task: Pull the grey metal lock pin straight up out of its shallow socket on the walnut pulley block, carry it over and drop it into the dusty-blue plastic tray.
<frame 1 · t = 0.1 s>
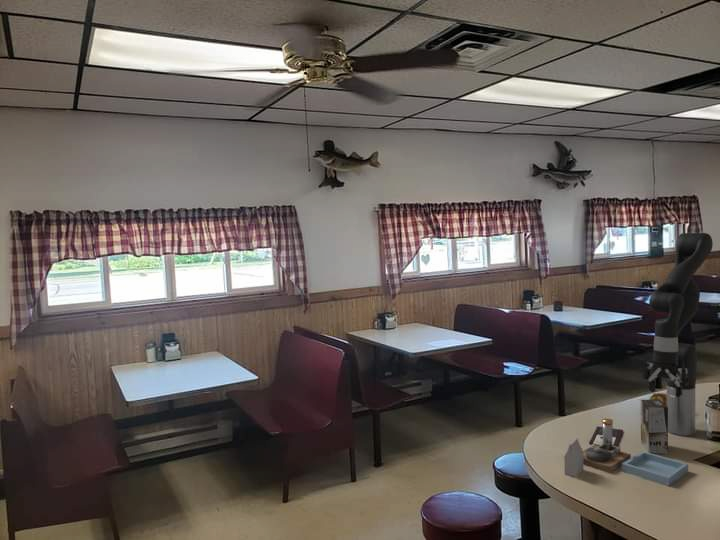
hand: (665, 394, 195), 17 cm above the counter, tool pointing down, fingers open, 8 cm apart
grey house block: (574, 472, 176), on the counter
pastry: (666, 412, 227), on the counter
lock pin: (607, 452, 185), point 2 cm above the counter, touching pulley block
tray: (654, 471, 174), on the counter
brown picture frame: (606, 439, 202), on the counter
coffee box: (654, 448, 191), on the counter
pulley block: (602, 460, 183), on the counter
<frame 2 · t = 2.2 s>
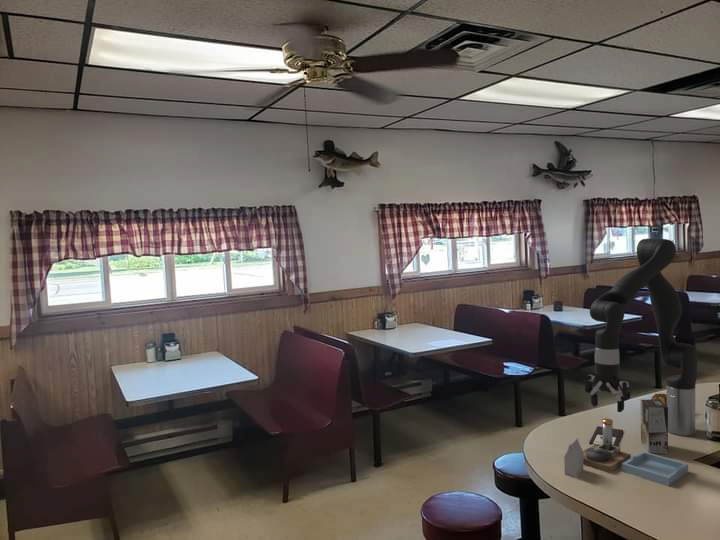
hand: (607, 408, 184), 17 cm above the counter, tool pointing down, fingers open, 8 cm apart
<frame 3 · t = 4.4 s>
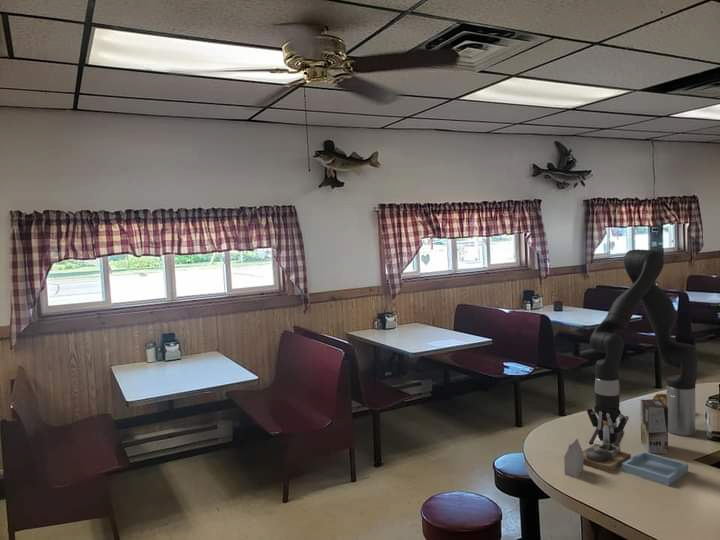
hand: (607, 441, 185), 6 cm above the counter, tool pointing down, fingers closed on lock pin, 3 cm apart
lock pin: (607, 452, 185), point 2 cm above the counter, touching gripper, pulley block
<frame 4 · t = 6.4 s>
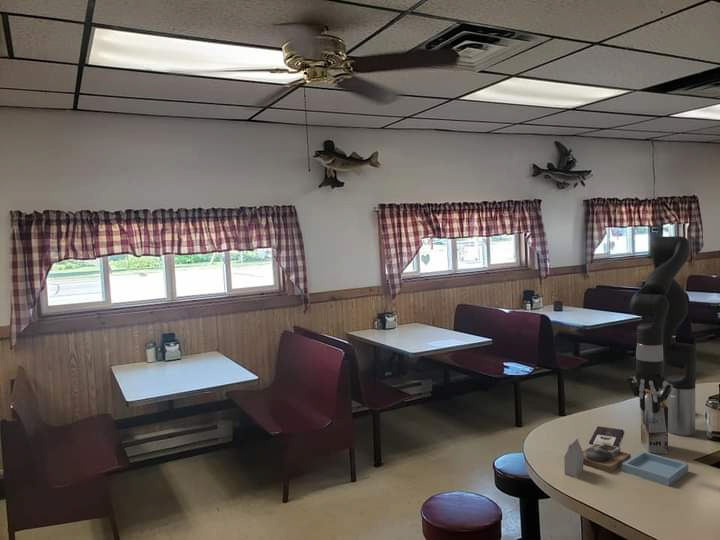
hand: (649, 411, 173), 19 cm above the counter, tool pointing down, fingers closed on lock pin, 3 cm apart
lock pin: (649, 422, 173), point 16 cm above the counter, touching gripper
when the fingers open (6 cm above the counter, at t = 8.7 s): lock pin drops 2 cm, resting on tray.
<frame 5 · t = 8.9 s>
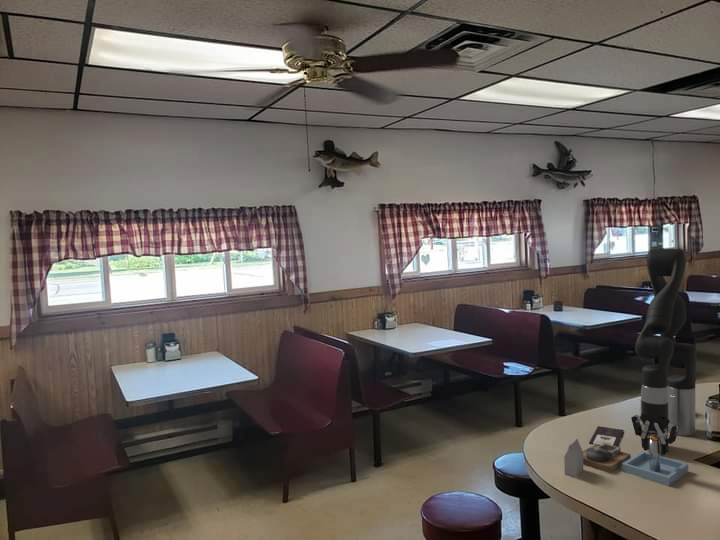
hand: (654, 452, 173), 6 cm above the counter, tool pointing down, fingers open, 4 cm apart
lock pin: (655, 469, 174), point 1 cm above the counter, touching tray
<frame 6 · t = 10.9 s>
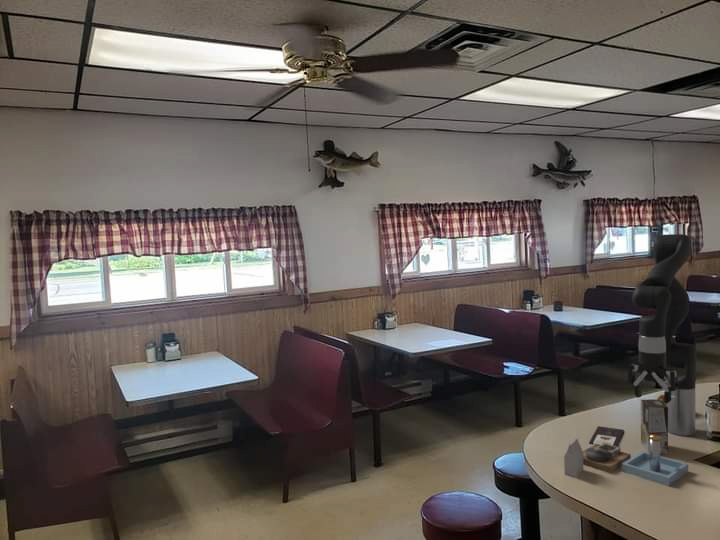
hand: (652, 399, 174), 23 cm above the counter, tool pointing down, fingers open, 8 cm apart
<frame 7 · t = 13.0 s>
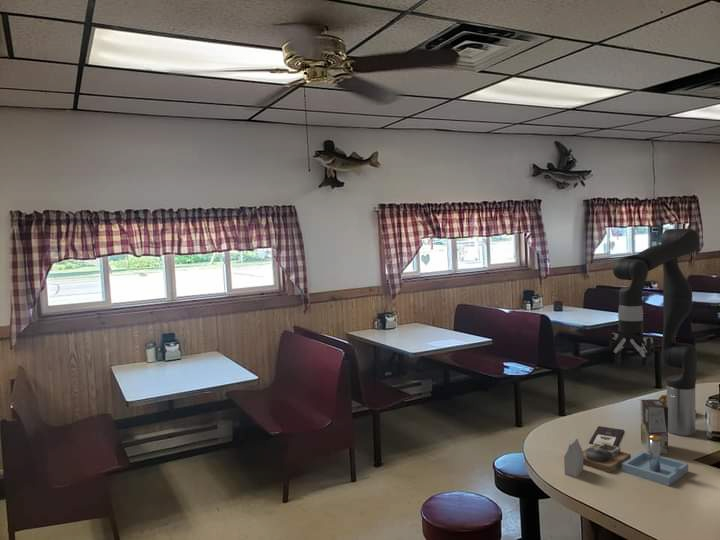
hand: (631, 365, 187), 30 cm above the counter, tool pointing down, fingers open, 8 cm apart
at the end: lock pin inside the target area on the tray (0.1 cm from its centre), point 0.6 cm above the tray's base; the gripper is holding nothing; lock pin touching tray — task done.
